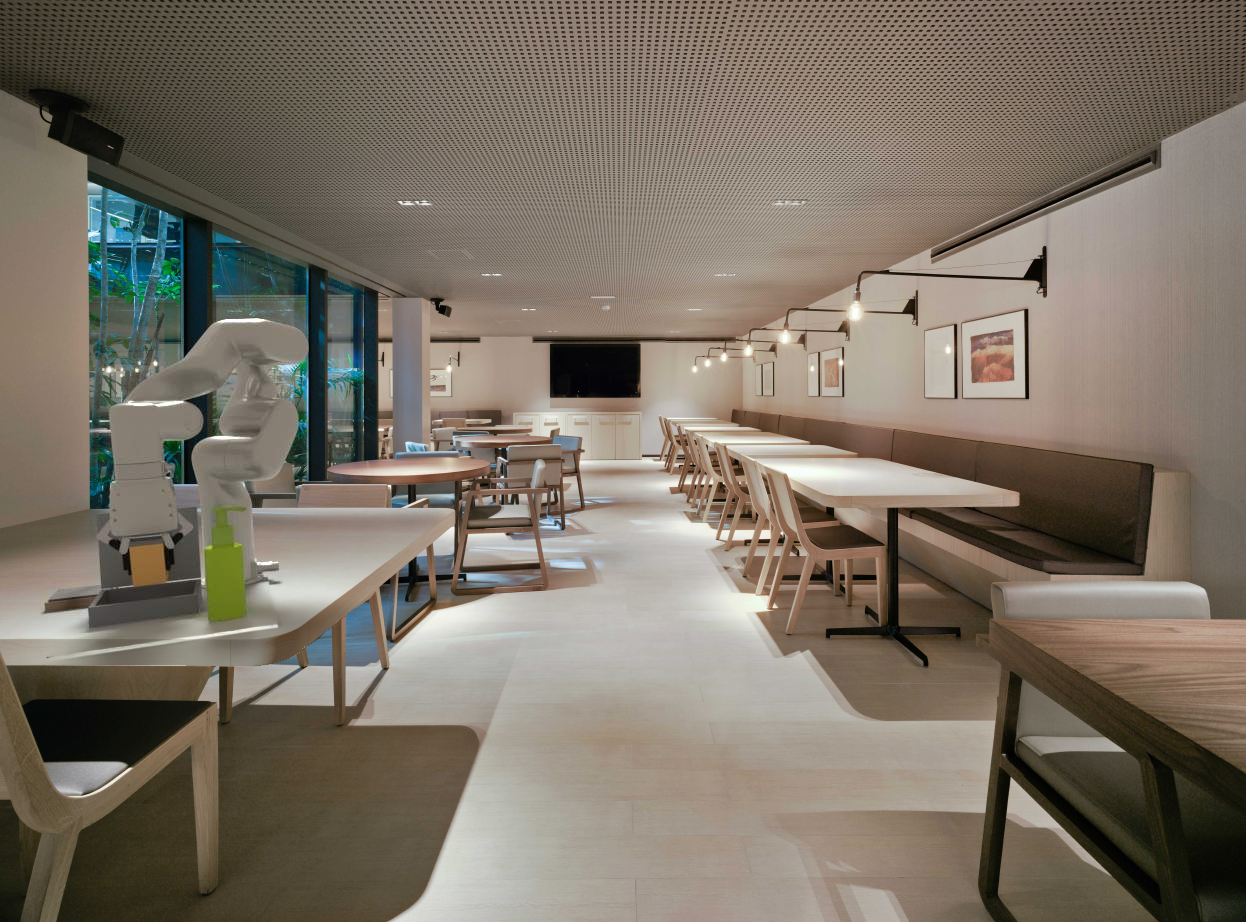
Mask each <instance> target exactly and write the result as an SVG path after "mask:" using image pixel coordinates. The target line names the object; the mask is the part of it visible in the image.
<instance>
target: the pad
mask: <svg viewBox="0 0 1246 922" xmlns="http://www.w3.org/2000/svg"><path fill="white" fill-rule="evenodd" d="M116 588H119V587H114V588H105V589H101V584H98V585H97V584H95V585H86V586H79V587H69V588H60V589H57V591H56V590H55V592H54V593H53V594H52V595H50V597H49V598H48V599H47V600H46V601H45V602H44V612H46V613H47V612H55V611H63V610H65V611H66V610H72V609H79V608H88V607H89V606H90V605H91V603H92V602H93V600H94V599H95V598H96V596H97V595H98V594H99V592H100V591H101V590H107V589H116Z"/></svg>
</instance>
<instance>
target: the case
mask: <svg viewBox="0 0 1246 922" xmlns="http://www.w3.org/2000/svg"><path fill="white" fill-rule="evenodd" d="M201 579H202V578H194V579H186V580H177V581H168V582H167V583H160V584H152V585H144V586H137V587H133V586H124V587H118V588H116V589H107V590H101V591H100V592H99V594H98V595H97V596H96V598H95V599H94V600H93V602H92V603H91V605H90V606H89V607H87V612H88V613H87V614H88V615H87V616H88V626H89V628H90V629H91V628H92V629H93V628H99V627H107V626H113V625H122V624H128V623H129V624H130V623H137V622H144V621H145V622H146V621H152V620H153V621H154V620H159V619H167V618H168V619H169V618H174V617H175V618H176V617H182V616H188V615H190V616H191V615H197V614H200V610H201V605H202V599H203V588H202V587H201Z"/></svg>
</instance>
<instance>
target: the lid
mask: <svg viewBox="0 0 1246 922" xmlns="http://www.w3.org/2000/svg"><path fill="white" fill-rule="evenodd" d="M178 512H179V513H180V514H181V515H182V516H183V517H185V518H186V519H187V520H188V521H189V522H190V523H191V524H193V526H194V527H193V529H192V530H191V531H190V532H189V533H188V534H186V535H185V536H184V537H183V538H182V539H181V540H180V541H179V542H178V543H177V544H176V545H175V546H174V558H175V565H171V570H170V571H168V575H169V576H168V580H167V583H169V582H178V581H186V580H195V579H202V569H201V568H202V567H201V553H200V536H199V533H200V532H199V518H198V506H189V507H188V506H187V507H178ZM109 520H110V512H104V513H96V522H97V534H98V533H99V532H100V531H101V529H102V528H103V527H104V526H105V525H106V523H107V522H108V521H109ZM182 528H183V527H182V526H181V525H180V524H179V525H178V527H177V529H176V530H175V531H173V532H171V534H172V536H174V535H175V534H176V533H177V532H179V531H180V530H181V529H182ZM109 535H110V536H112V537H113V538H116V539H118V540H119V541H122V537H116V536H114V535H112V532H111V531H110V532H109ZM154 535H161V534H154ZM144 536H152V535H144ZM134 537H143V536H134ZM132 538H133V537H132ZM97 540H98V539H97ZM97 542H98V555H99V558H98V559H99V573H100V585H101V589H105V588H114V587H118V588H124V587H133V580H132V575H130V576H129V575H128V570H125V571H124V568H123V558H122V554H121V553H120V552H119V551H117V550H116V549H114V548H113V547H111V546H110V545H109V544H107V543H104V542H102V541H100V540H98V541H97Z"/></svg>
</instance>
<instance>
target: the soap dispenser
mask: <svg viewBox="0 0 1246 922" xmlns="http://www.w3.org/2000/svg"><path fill="white" fill-rule="evenodd" d="M246 509H247V508H245V507H239V506H226V507H218V508H213V509H211V513H213V512H216V523H217V525H214V526H213V527H211V532H212V545H210V546H207V547H205V548H204V554H205V570H206V586H207V589H206V598H207V601H206V602H207V615H208V621H211V622H224V621H231V620H236V619H239V618H243V617H245V616H246V615H247V603H246V601H247V600H246V597H247V596H246V585H245V580H244V563H243V546H242V544H240V543H234V530H233V525H230V524H228V521H227V511H242V512H243V511H245V510H246Z"/></svg>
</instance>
